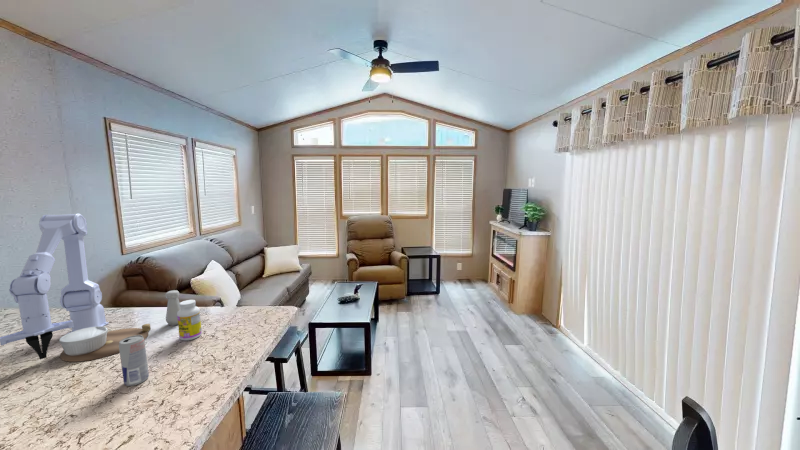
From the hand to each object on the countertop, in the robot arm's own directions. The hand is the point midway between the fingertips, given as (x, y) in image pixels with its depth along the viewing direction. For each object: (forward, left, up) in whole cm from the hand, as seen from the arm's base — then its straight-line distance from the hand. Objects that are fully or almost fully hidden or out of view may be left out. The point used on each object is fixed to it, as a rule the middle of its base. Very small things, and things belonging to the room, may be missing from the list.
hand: (42, 357), depth 97 cm
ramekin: (-6, +7, -2) cm, 10 cm away
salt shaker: (-22, +26, -2) cm, 34 cm away
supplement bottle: (-9, +37, -2) cm, 38 cm away
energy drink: (+16, +34, -2) cm, 37 cm away
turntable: (-9, +11, -2) cm, 15 cm away
